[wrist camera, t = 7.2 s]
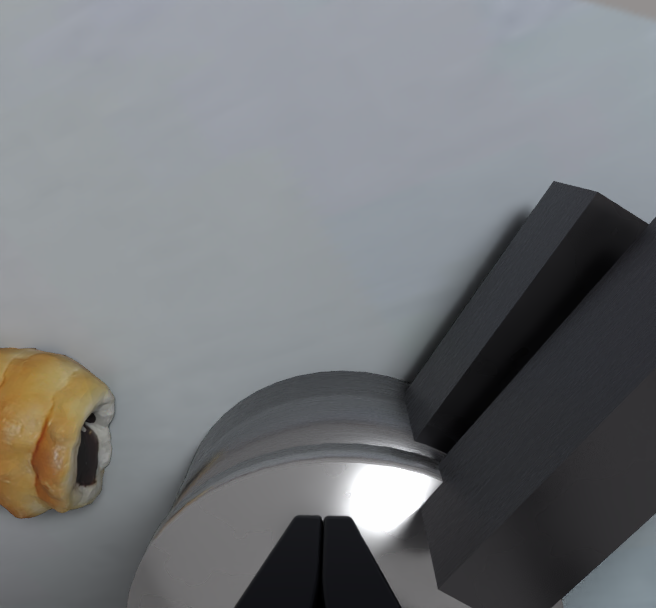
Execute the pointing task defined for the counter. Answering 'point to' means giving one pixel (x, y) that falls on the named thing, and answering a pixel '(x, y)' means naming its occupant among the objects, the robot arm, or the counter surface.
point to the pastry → (51, 432)
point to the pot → (441, 350)
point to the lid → (459, 480)
